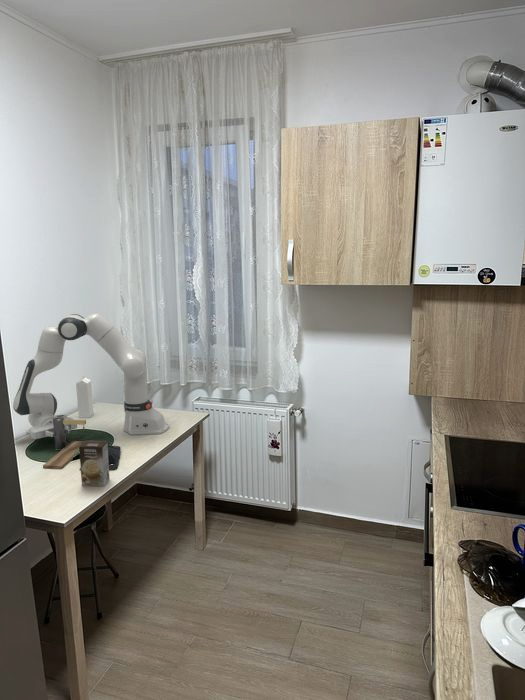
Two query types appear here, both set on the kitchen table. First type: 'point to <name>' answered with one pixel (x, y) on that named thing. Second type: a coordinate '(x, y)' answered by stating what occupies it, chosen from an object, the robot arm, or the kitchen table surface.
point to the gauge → (63, 430)
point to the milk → (84, 398)
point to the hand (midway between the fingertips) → (60, 433)
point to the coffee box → (94, 463)
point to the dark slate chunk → (113, 456)
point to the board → (63, 456)
